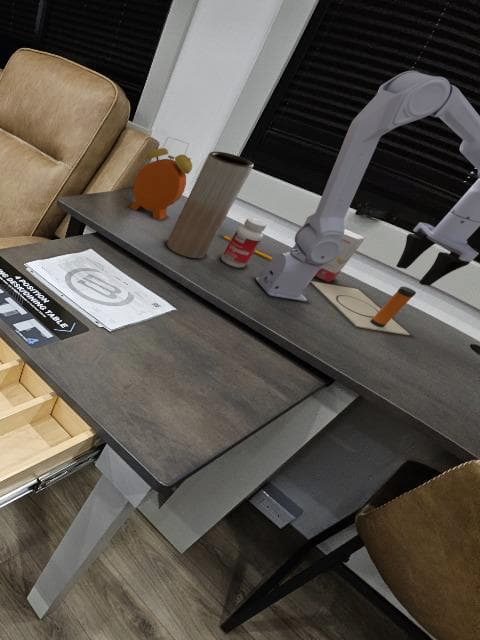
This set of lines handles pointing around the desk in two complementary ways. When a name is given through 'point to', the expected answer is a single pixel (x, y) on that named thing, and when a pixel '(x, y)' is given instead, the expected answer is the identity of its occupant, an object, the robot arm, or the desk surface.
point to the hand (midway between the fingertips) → (412, 275)
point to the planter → (208, 203)
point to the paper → (356, 307)
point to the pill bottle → (244, 243)
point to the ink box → (340, 256)
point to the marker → (392, 306)
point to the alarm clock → (160, 182)
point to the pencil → (254, 251)
